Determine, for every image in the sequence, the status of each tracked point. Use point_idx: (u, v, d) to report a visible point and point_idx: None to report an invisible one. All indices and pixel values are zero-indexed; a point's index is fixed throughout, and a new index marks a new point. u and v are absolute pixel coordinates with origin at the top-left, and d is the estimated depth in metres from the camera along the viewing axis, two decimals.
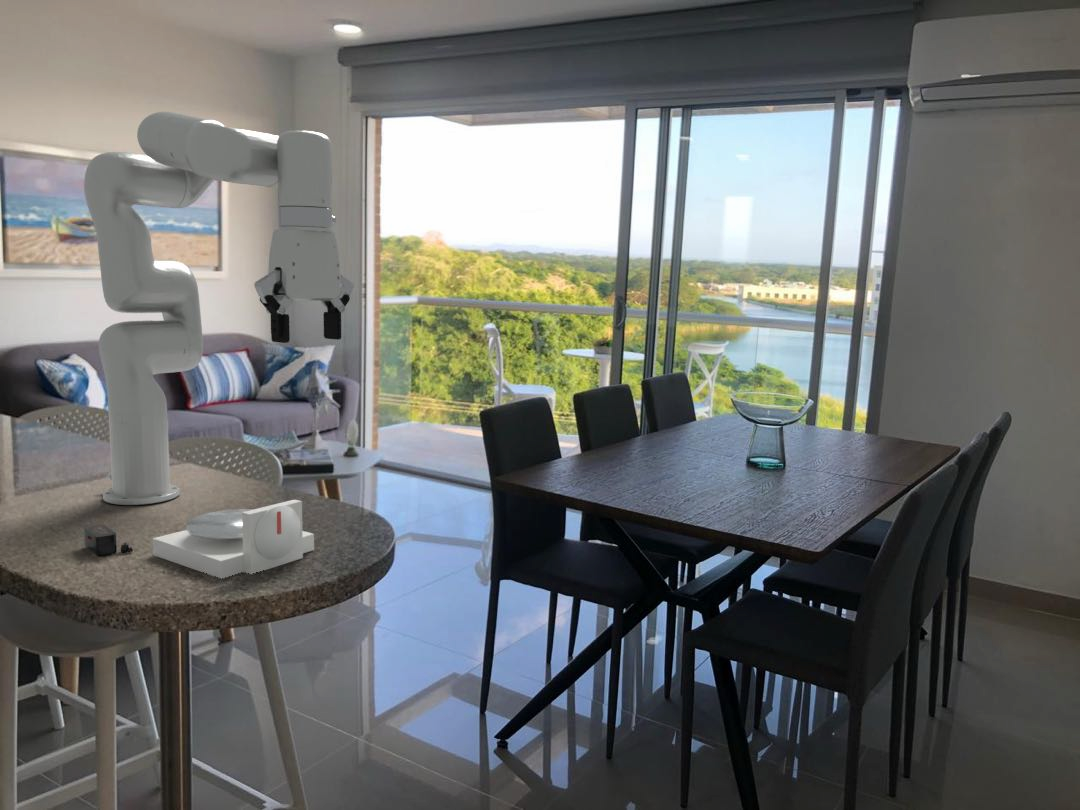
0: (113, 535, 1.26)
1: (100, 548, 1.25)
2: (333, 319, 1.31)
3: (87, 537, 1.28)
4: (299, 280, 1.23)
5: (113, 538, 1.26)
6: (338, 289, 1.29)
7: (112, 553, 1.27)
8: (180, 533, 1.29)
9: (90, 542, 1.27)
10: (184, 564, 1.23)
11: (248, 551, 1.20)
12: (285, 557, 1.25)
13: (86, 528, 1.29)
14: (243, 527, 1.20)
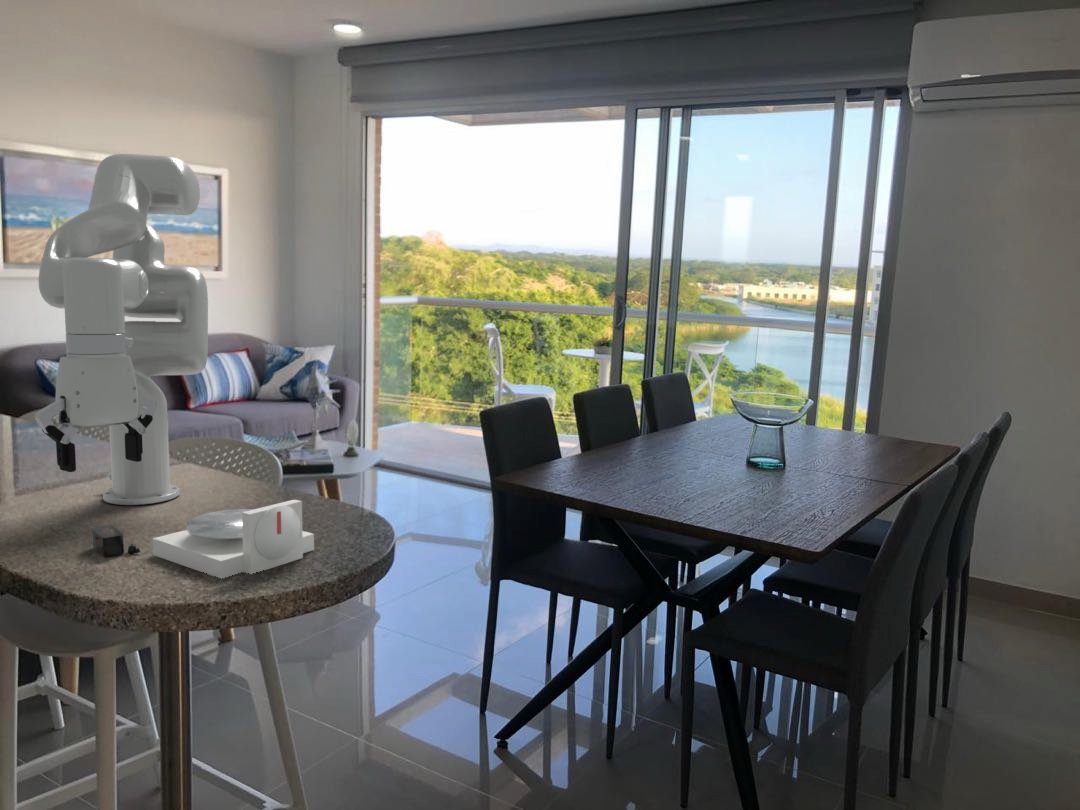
0: (120, 536, 1.26)
1: (107, 549, 1.25)
2: (132, 441, 1.29)
3: (95, 538, 1.28)
4: (85, 408, 1.21)
5: (120, 538, 1.26)
6: (135, 412, 1.27)
7: (119, 554, 1.26)
8: (180, 533, 1.29)
9: (98, 543, 1.27)
10: (184, 564, 1.23)
11: (248, 551, 1.20)
12: (285, 557, 1.25)
13: (94, 529, 1.29)
14: (243, 527, 1.20)
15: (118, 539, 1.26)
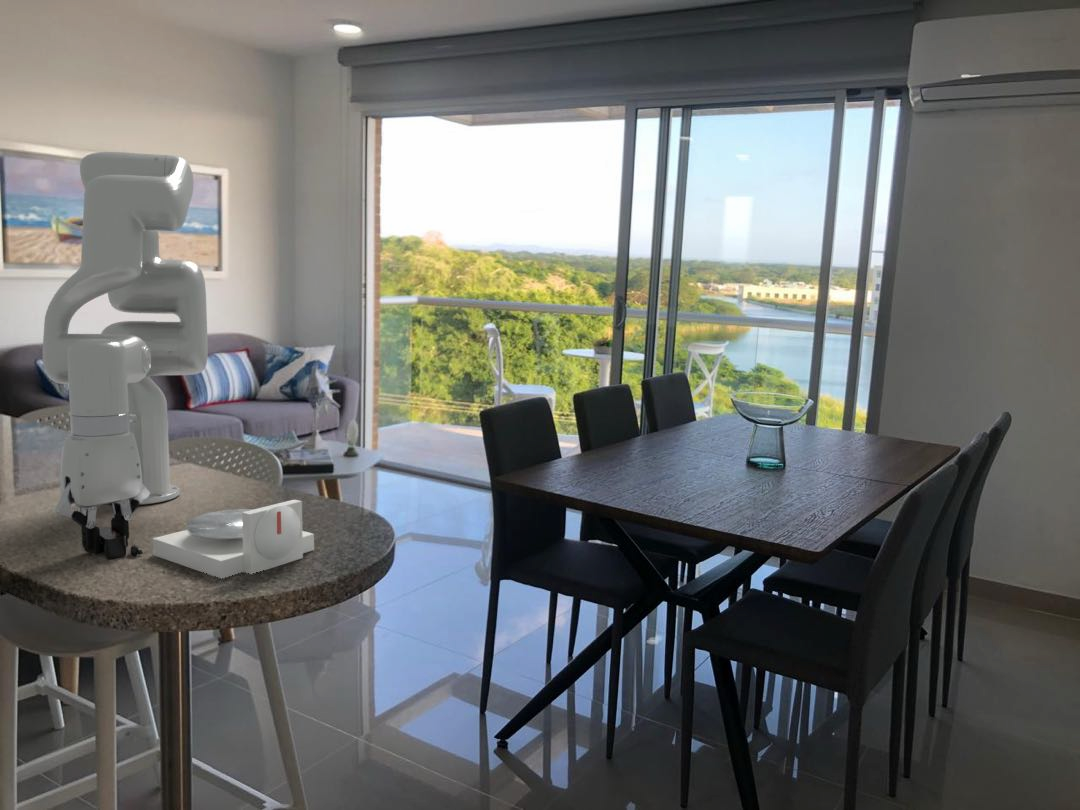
0: (123, 537, 1.25)
1: (110, 550, 1.24)
2: (119, 527, 1.29)
3: None
4: (89, 488, 1.23)
5: (123, 540, 1.25)
6: (139, 487, 1.29)
7: (122, 556, 1.25)
8: (180, 533, 1.29)
9: (100, 544, 1.26)
10: (184, 564, 1.23)
11: (248, 551, 1.20)
12: (285, 557, 1.25)
13: None
14: (243, 527, 1.20)
15: (121, 540, 1.25)
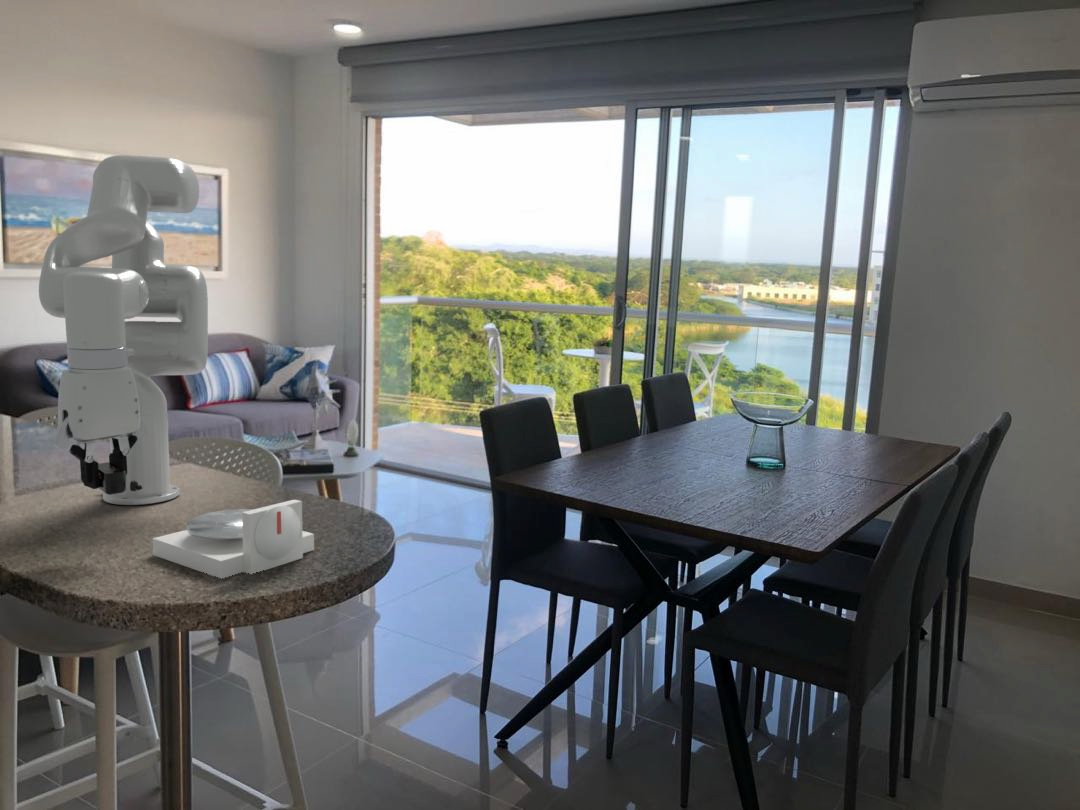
0: (122, 472, 1.25)
1: (109, 485, 1.24)
2: (117, 463, 1.28)
3: None
4: (87, 422, 1.22)
5: (123, 475, 1.25)
6: (137, 423, 1.29)
7: (121, 490, 1.25)
8: (180, 533, 1.29)
9: (99, 479, 1.26)
10: (184, 564, 1.23)
11: (248, 551, 1.20)
12: (285, 557, 1.25)
13: None
14: (243, 527, 1.20)
15: (120, 475, 1.25)
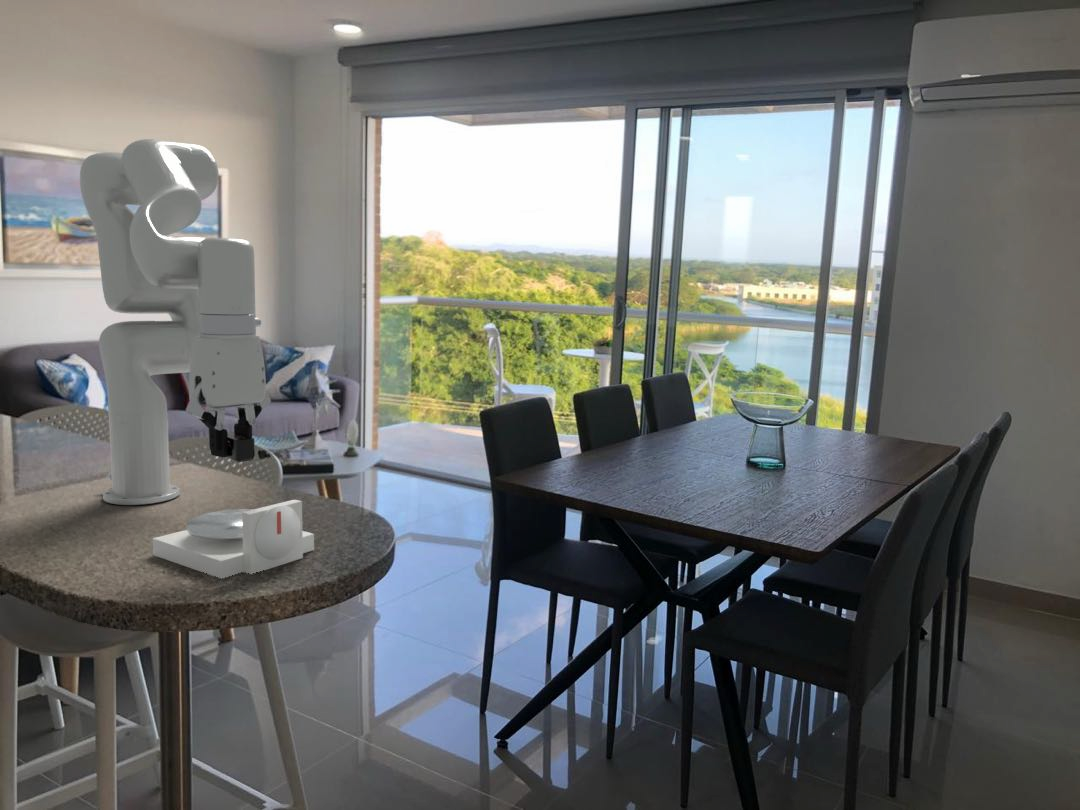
0: (252, 439, 1.24)
1: (240, 452, 1.23)
2: (243, 432, 1.27)
3: None
4: (220, 388, 1.21)
5: (252, 442, 1.24)
6: (263, 392, 1.28)
7: (251, 458, 1.24)
8: (180, 533, 1.29)
9: (228, 447, 1.24)
10: (184, 564, 1.23)
11: (248, 551, 1.20)
12: (285, 557, 1.25)
13: None
14: (243, 527, 1.20)
15: (250, 442, 1.24)
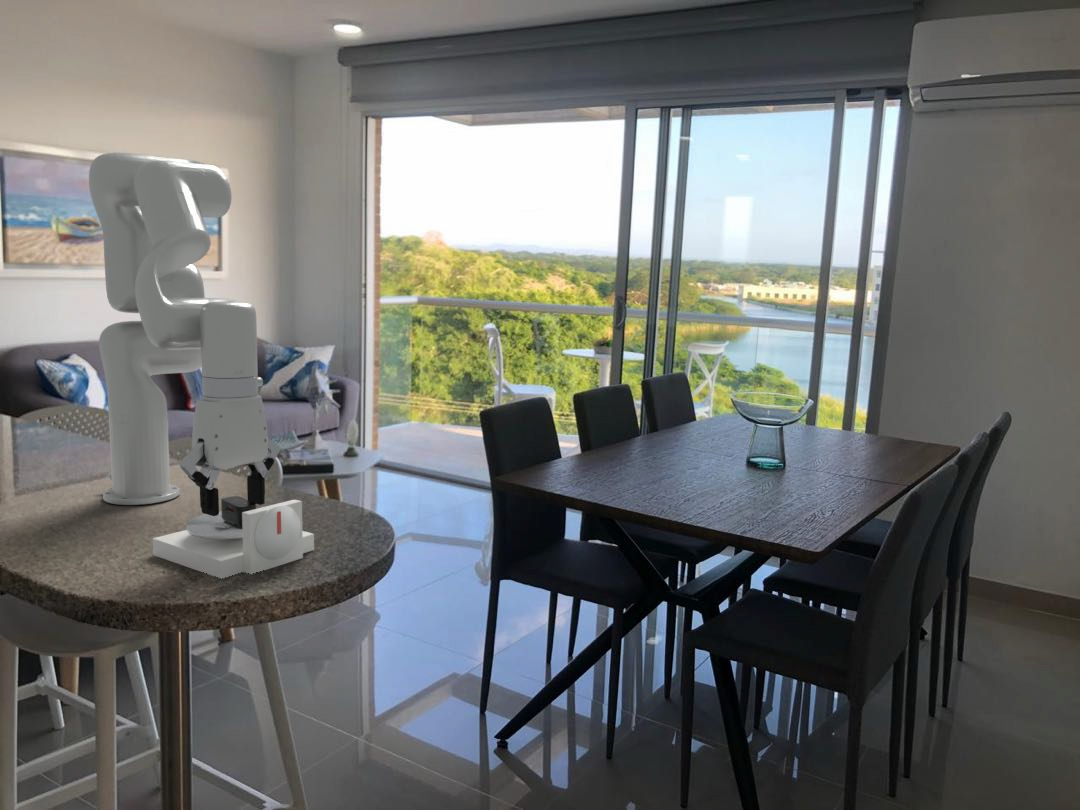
0: (254, 505, 1.25)
1: None
2: (256, 485, 1.30)
3: (225, 509, 1.27)
4: (222, 451, 1.23)
5: (254, 508, 1.25)
6: (265, 451, 1.29)
7: None
8: (180, 533, 1.29)
9: (230, 513, 1.26)
10: (184, 564, 1.23)
11: (248, 551, 1.20)
12: (285, 557, 1.25)
13: (223, 499, 1.28)
14: (243, 527, 1.20)
15: (252, 508, 1.25)
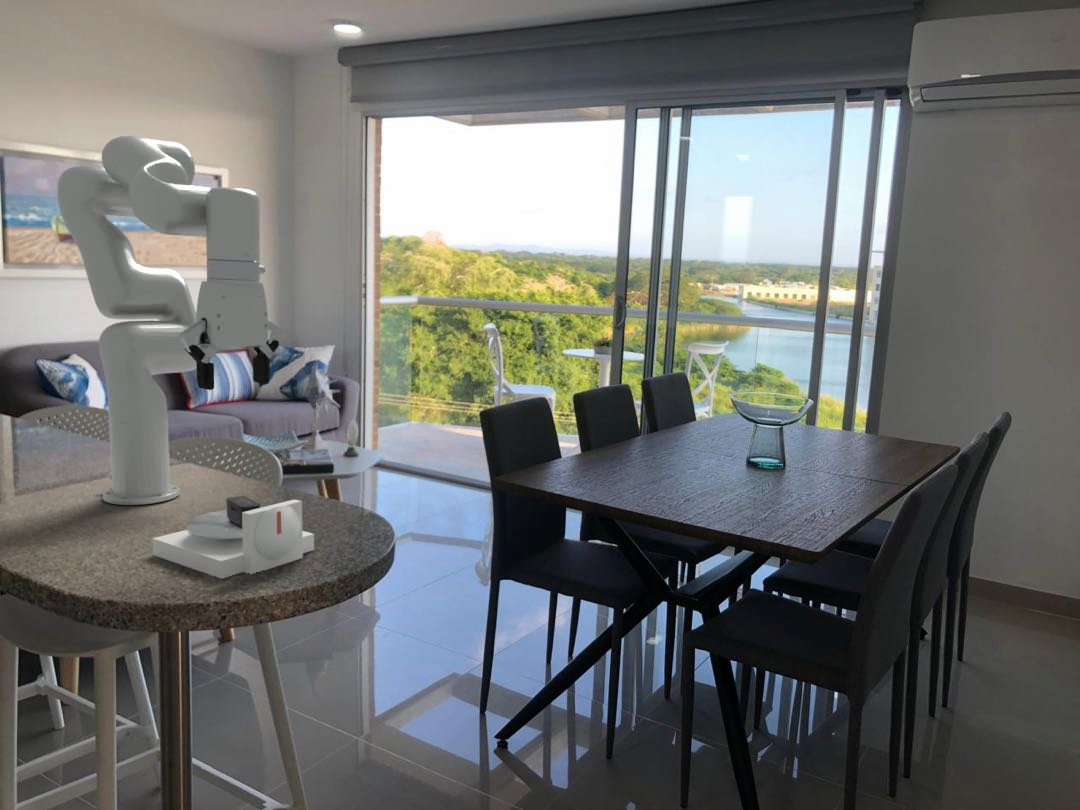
0: (258, 505, 1.25)
1: None
2: (261, 364, 1.37)
3: (230, 508, 1.27)
4: (224, 330, 1.29)
5: None
6: (266, 337, 1.35)
7: None
8: (180, 533, 1.29)
9: (234, 512, 1.26)
10: (184, 564, 1.23)
11: (248, 551, 1.20)
12: (285, 557, 1.25)
13: (229, 499, 1.28)
14: (243, 527, 1.20)
15: None
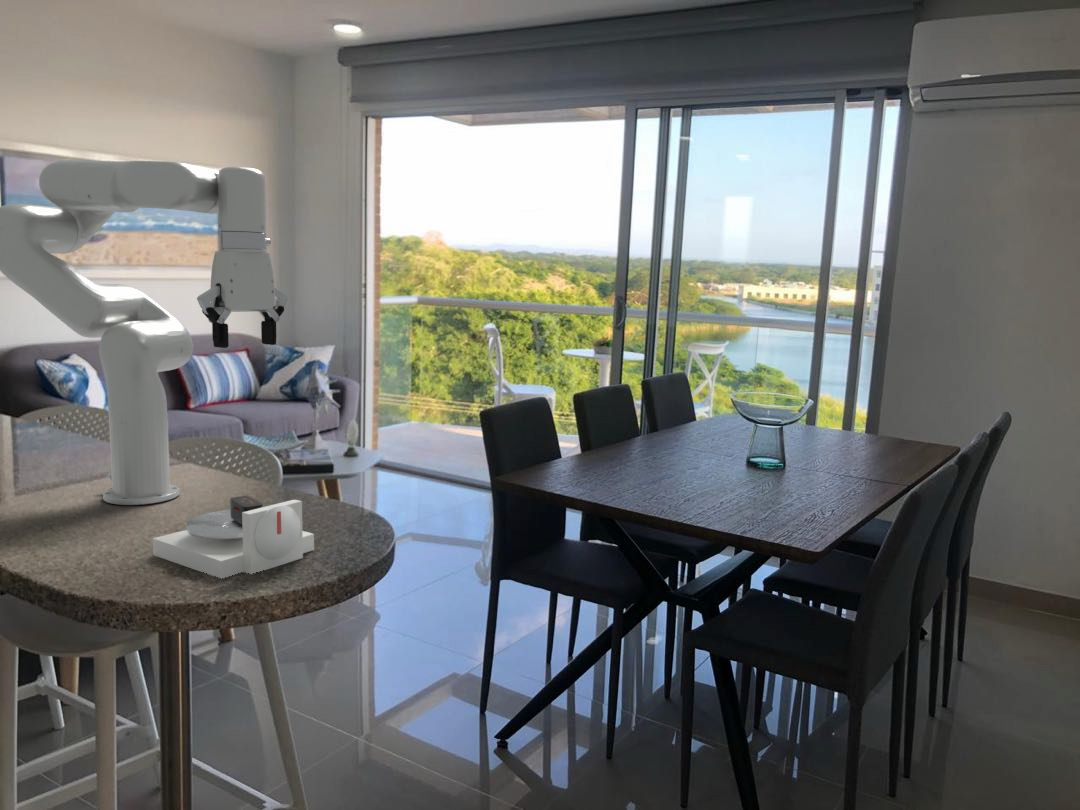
0: (260, 506, 1.25)
1: None
2: (269, 327, 1.52)
3: (233, 508, 1.27)
4: (236, 294, 1.44)
5: None
6: (273, 301, 1.50)
7: None
8: (180, 533, 1.29)
9: (237, 512, 1.26)
10: (184, 564, 1.23)
11: (248, 551, 1.20)
12: (285, 557, 1.25)
13: (232, 499, 1.28)
14: (243, 527, 1.20)
15: None
